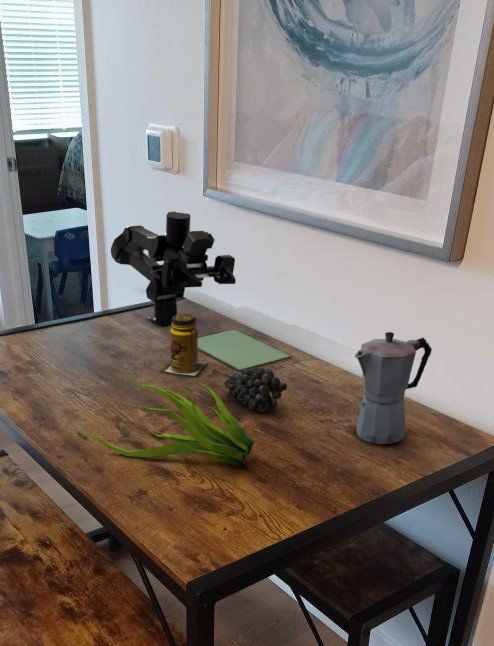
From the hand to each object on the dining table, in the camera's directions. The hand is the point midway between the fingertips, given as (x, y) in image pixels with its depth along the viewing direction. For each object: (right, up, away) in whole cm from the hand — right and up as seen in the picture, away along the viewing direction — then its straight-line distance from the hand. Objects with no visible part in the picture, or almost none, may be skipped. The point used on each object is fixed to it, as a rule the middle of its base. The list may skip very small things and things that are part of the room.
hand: (218, 283), depth 160 cm
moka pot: (+30, -36, -28) cm, 54 cm away
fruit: (+6, -29, -17) cm, 34 cm away
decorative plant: (-11, -40, -36) cm, 55 cm away
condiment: (-7, -19, -1) cm, 21 cm away
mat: (+5, -13, +9) cm, 17 cm away
